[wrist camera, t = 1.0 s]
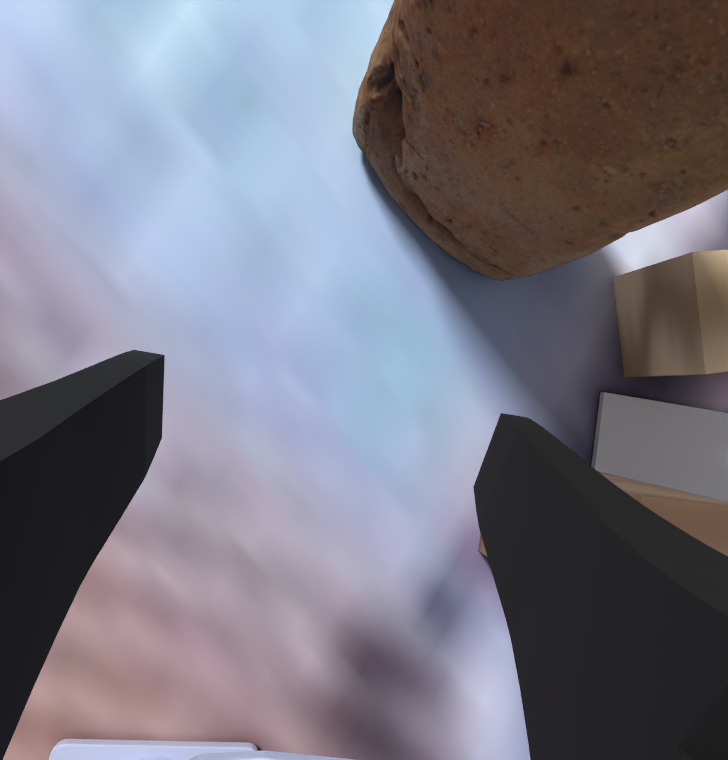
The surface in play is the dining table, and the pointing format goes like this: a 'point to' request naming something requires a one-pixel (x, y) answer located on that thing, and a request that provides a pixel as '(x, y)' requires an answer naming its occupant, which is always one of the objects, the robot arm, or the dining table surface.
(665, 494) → the walnut pillar
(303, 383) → the dining table surface
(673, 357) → the oak cube
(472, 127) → the block
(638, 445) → the mat
